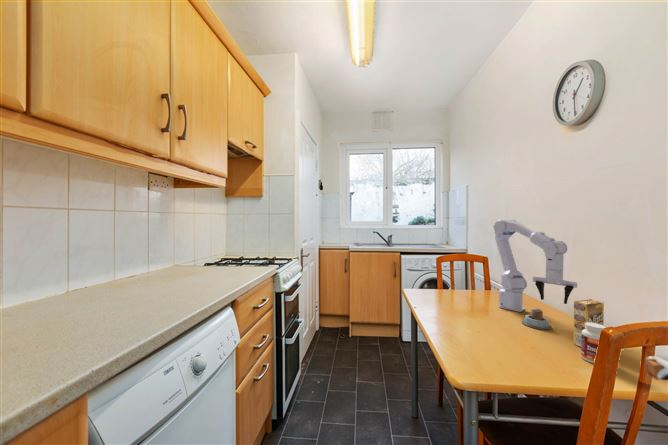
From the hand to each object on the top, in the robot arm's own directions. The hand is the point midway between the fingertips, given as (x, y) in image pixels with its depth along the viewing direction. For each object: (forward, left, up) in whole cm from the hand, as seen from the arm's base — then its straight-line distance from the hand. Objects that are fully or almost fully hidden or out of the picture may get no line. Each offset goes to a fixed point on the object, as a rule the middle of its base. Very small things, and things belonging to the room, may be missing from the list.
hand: (553, 301), depth 114 cm
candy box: (+12, -18, -9) cm, 23 cm away
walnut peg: (-4, -9, -9) cm, 13 cm away
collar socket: (-4, -9, -9) cm, 13 cm away
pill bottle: (+14, -31, -9) cm, 35 cm away
